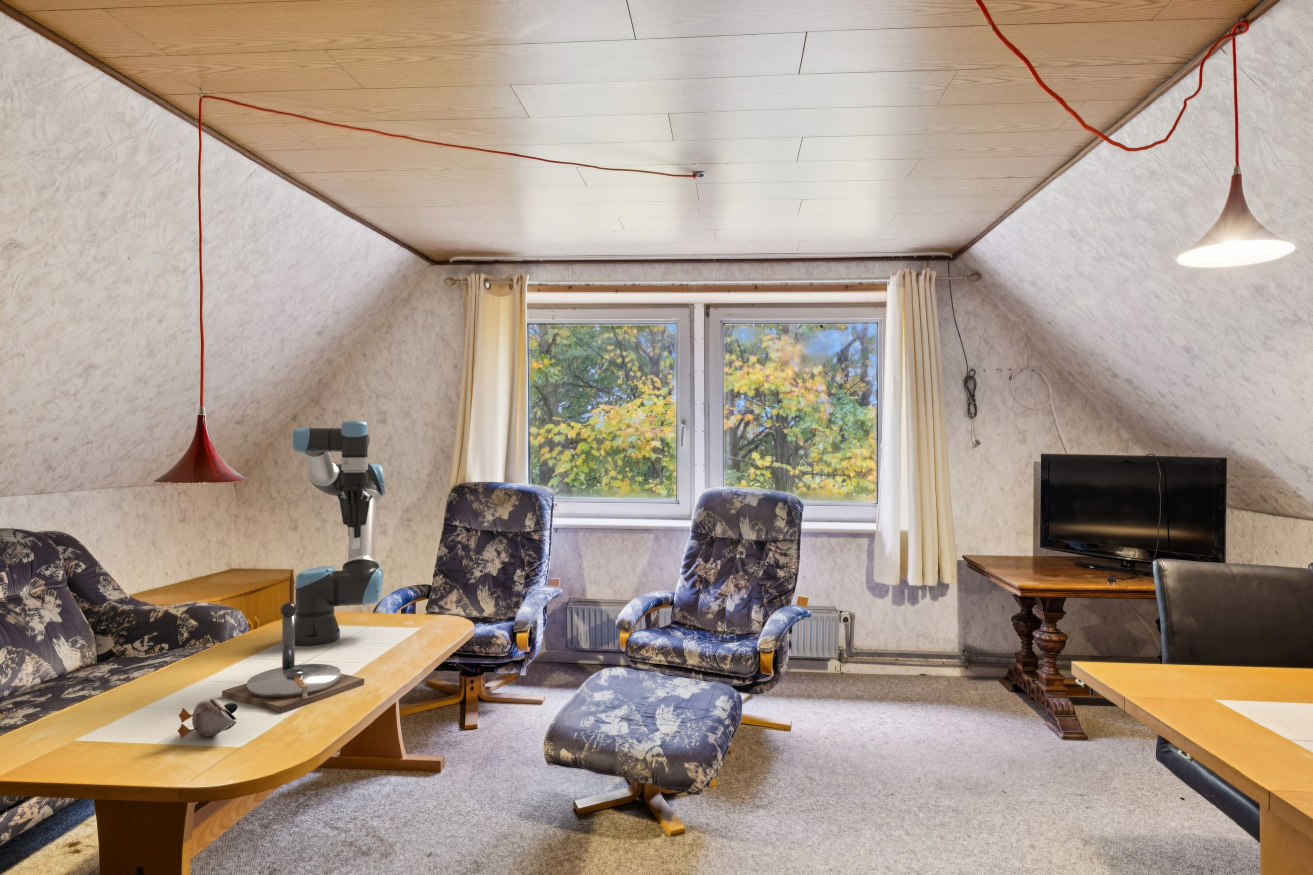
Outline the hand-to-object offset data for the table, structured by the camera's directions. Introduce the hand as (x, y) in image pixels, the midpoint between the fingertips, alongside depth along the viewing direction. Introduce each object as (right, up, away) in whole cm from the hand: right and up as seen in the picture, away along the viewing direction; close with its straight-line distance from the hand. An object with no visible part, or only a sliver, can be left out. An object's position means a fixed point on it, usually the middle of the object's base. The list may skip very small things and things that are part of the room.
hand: (354, 548), depth 228 cm
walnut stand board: (-2, -32, -33) cm, 46 cm away
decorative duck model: (-5, -32, -61) cm, 69 cm away
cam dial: (-2, -31, -33) cm, 45 cm away
